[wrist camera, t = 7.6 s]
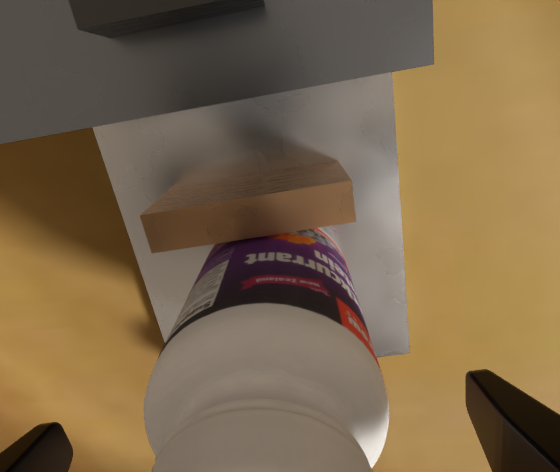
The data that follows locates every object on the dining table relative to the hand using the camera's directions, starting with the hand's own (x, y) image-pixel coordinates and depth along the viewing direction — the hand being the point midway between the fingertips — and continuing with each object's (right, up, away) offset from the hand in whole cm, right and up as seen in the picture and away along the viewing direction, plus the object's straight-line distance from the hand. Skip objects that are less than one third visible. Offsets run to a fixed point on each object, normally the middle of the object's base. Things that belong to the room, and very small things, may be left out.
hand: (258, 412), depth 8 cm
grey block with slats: (0, +6, +6) cm, 8 cm away
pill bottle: (0, +2, +7) cm, 7 cm away
